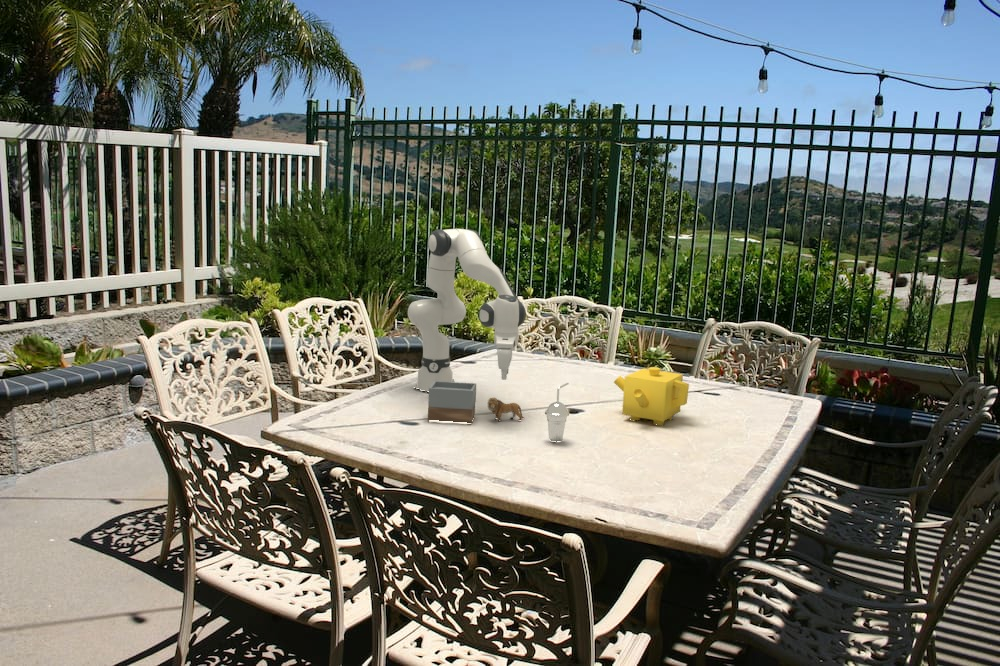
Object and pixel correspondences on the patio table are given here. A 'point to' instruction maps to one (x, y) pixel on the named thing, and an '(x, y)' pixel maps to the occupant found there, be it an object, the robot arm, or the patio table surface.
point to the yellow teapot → (652, 394)
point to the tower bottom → (451, 414)
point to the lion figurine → (504, 408)
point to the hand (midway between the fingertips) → (504, 376)
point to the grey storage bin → (452, 395)
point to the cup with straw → (556, 418)
